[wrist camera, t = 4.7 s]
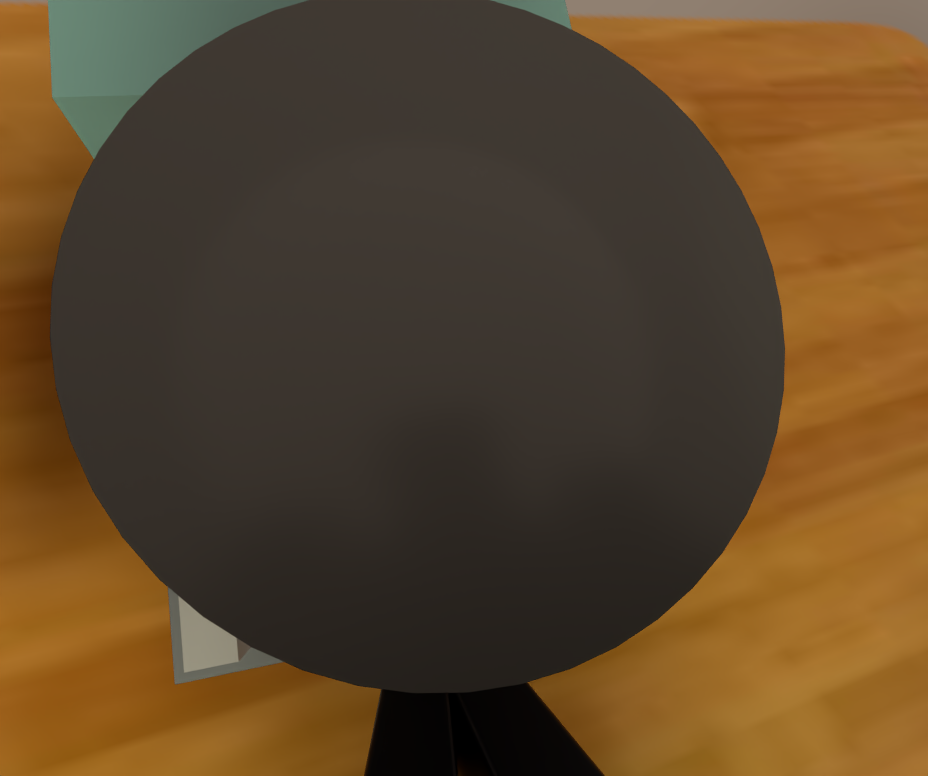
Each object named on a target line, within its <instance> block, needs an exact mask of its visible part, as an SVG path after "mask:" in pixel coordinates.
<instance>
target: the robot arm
mask: <svg viewBox="0 0 928 776" xmlns="http://www.w3.org/2000/svg"><path fill="white" fill-rule="evenodd" d="M364 776H605V775H604V774H603V773H602V772H601V771H600V769H599V768H598V767H597V766H596V765H595V763H594V762H593V761H592V760H591V759H590V757H589V756H588V755H587V754H586V753H585V751H584V750H583V749H582V748H581V747H580V745H579V744H578V743H577V742H576V740H575V739H574V738H573V737H572V736H571V734H570V733H569V732H568V731H567V730H566V728H565V727H564V726H563V725H562V724H561V722H560V721H559V720H558V719H557V718H556V716H555V715H554V714H553V713H552V712H551V710H550V709H549V708H548V707H547V705H546V704H545V703H544V702H543V701H542V699H541V698H540V697H539V696H538V695H537V693H536V692H535V691H534V690H533V689H532V687H531V686H530V685H529V684H528V683H527V682H526V683H523V684H519V685H512V686H506V687H500V688H493V689H487V690H480V691H474V692H463V693H409V692H401V691H394V690H386V689H381V693H380V698H379V703H378V708H377V713H376V718H375V723H374V728H373V733H372V738H371V743H370V748H369V753H368V759H367V764H366V769H365V774H364Z"/></svg>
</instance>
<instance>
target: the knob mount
mask: <svg viewBox="0 0 928 776" xmlns="http://www.w3.org/2000/svg"><path fill="white" fill-rule="evenodd" d="M304 1H308V0H48V10H49V33H50V56H51V79H52V98H53V99H54V101H55V102H56V104H57V105H58V107H59V108H60V109H61V111H62V112H63V114H64V115H65V117H66V118H67V120H68V121H69V123H70V124H71V126H72V127H73V129H74V130H75V132H76V133H77V134H78V136H79V137H80V139H81V140H82V142H83V143H84V145H85V146H86V148H87V149H88V151H89V152H90V154H91V155H92V156H93V158H94V159H95V157H96V155H97V153H98V151H99V149H100V148H101V146H102V145H103V144H104V142H105V141H106V140H107V138H108V137H109V135H110V134H111V133H112V131H113V130H114V129H115V127H116V126H117V124H118V123H119V122H120V120H121V119H122V118H123V116H124V115H125V114H126V112H127V111H128V110H129V109H130V108H131V107H132V106H133V105H134V104H135V103H136V102H137V101H138V100H139V99H140V97H141V96H142V95H143V94H144V93H145V92H146V91H147V90H148V89H149V88H150V87H151V86H152V85H153V84H154V83H155V82H156V81H157V80H158V79H159V78H160V77H161V76H163V75H164V74H165V73H167V72H168V71H169V70H170V69H172V68H173V67H174V66H176V65H177V64H178V63H179V62H181V61H182V60H183V59H184V58H186V57H187V56H188V55H190V54H191V53H192V52H193V51H195V50H196V49H198V48H200V47H201V46H203V45H205V44H207V43H208V42H210V41H212V40H213V39H215V38H217V37H218V36H220V35H222V34H224V33H225V32H227V31H229V30H230V29H232V28H234V27H236V26H239V25H241V24H243V23H246V22H248V21H250V20H253V19H255V18H257V17H260V16H262V15H264V14H267V13H269V12H271V11H274V10H277V9H280V8H284V7H287V6H291V5H294V4H297V3H301V2H304ZM491 1H495V2H498V3H502V4H505V5H509V6H512V7H516V8H519V9H523V10H526V11H529V12H531V13H534V14H536V15H539V16H541V17H544V18H546V19H549V20H551V21H554V22H556V23H558V24H561V25H563V26H565V27H567V28H569V29H571V25H570V20H569V16H568V12H567V7H566V3H565V0H491ZM571 30H572V29H571ZM168 595H169V609H170V623H171V637H172V651H173V665H174V678H175V684H180V683H185V682H189V681H194V680H199V679H204V678H209V677H213V676H218V675H223V674H228V673H233V672H238V671H242V670H247V669H252V668H257V667H262V666H266V665H271V664H276V663H281V662H283V661H281V660H279V659H277V658H274V657H272V656H270V655H268V654H265V653H263V652H261V651H259V650H256V649H254V648H252V647H250V646H249V645H247V644H245V643H244V642H242V641H241V640H239V639H237V638H236V637H234V636H233V635H231V634H229V633H228V632H226V631H225V630H223V629H222V628H220V627H218V626H217V625H215V624H214V623H212V622H210V621H209V620H207V619H206V618H204V617H203V616H201V615H200V614H199V613H198V612H197V611H196V610H194V609H193V608H192V607H191V606H190V605H189V604H187V603H186V602H185V601H184V600H183V599H182V598H180V597H179V596H178V595H177V594H176V593H175V592H173V591H172V590H171V589H170V588H169V587H168Z"/></svg>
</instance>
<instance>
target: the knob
mask: <svg viewBox="0 0 928 776" xmlns="http://www.w3.org/2000/svg"><path fill="white" fill-rule="evenodd" d="M50 341H51V349H52V358H53V367H54V375H55V384H56V390H57V394H58V397H59V401H60V405H61V408H62V412H63V416H64V419H65V423H66V427H67V430H68V434H69V438H70V441H71V443H72V445H73V448H74V450H75V452H76V454H77V457H78V459H79V461H80V463H81V466H82V468H83V470H84V472H85V475H86V477H87V479H88V481H89V483H90V486H91V488H92V490H93V492H94V493H95V495H96V496H97V498H98V500H99V501H100V503H101V504H102V506H103V507H104V509H105V511H106V512H107V514H108V515H109V517H110V518H111V520H112V522H113V523H114V525H115V526H116V528H117V529H118V531H119V532H120V534H121V536H122V537H123V538H124V539H125V541H126V542H127V543H128V544H129V545H130V546H131V547H132V549H133V550H134V551H135V552H136V553H137V554H138V556H139V557H140V558H141V559H142V560H143V561H144V562H145V564H146V565H147V566H148V567H149V568H150V569H151V570H152V572H153V573H154V574H155V575H156V576H157V577H158V578H159V580H160V581H162V582H163V583H164V584H165V585H166V586H168V587H169V588H170V589H171V590H172V591H173V592H175V593H176V594H177V595H178V596H179V597H180V598H182V599H183V600H184V601H185V602H186V603H187V604H189V605H190V606H191V607H192V608H193V609H194V610H196V611H197V612H198V613H199V614H200V615H201V616H203V617H204V618H206V619H207V620H209V621H210V622H212V623H214V624H215V625H217V626H218V627H220V628H222V629H223V630H225V631H226V632H228V633H229V634H231V635H233V636H234V637H236V638H237V639H239V640H241V641H242V642H244V643H245V644H247V645H249V646H250V647H252V648H254V649H256V650H259V651H261V652H263V653H265V654H268V655H270V656H272V657H274V658H277V659H279V660H281V661H283V662H286V663H288V664H290V665H292V666H295V667H297V668H299V669H301V670H304V671H307V672H311V673H314V674H318V675H321V676H325V677H328V678H332V679H336V680H339V681H343V682H346V683H350V684H353V685H357V686H363V687H371V688H378V689H386V690H394V691H401V692H409V693H463V692H474V691H480V690H487V689H493V688H500V687H506V686H512V685H519V684H523V683H526V682H529V681H533V680H536V679H539V678H542V677H546V676H549V675H552V674H555V673H559V672H562V671H565V670H568V669H571V668H573V667H575V666H577V665H580V664H582V663H584V662H586V661H588V660H590V659H592V658H594V657H596V656H599V655H601V654H603V653H605V652H607V651H609V650H611V649H613V648H615V647H617V646H619V645H620V644H622V643H623V642H625V641H626V640H628V639H629V638H631V637H632V636H634V635H635V634H637V633H638V632H640V631H641V630H643V629H644V628H646V627H647V626H649V625H650V624H652V623H653V622H655V621H656V620H658V619H659V618H660V617H661V616H662V615H663V614H664V613H665V612H666V611H668V610H669V609H670V608H671V607H672V606H673V605H674V604H675V603H677V602H678V601H679V600H680V599H681V598H682V597H683V596H684V595H686V594H687V593H688V592H689V591H690V590H691V589H692V588H693V587H694V586H695V585H696V584H697V582H698V581H699V580H700V579H701V578H702V576H703V575H704V574H705V573H706V572H707V570H708V569H709V568H710V567H711V566H712V565H713V563H714V562H715V561H716V560H717V559H718V557H719V556H720V555H721V554H722V553H723V551H724V549H725V548H726V546H727V545H728V543H729V541H730V540H731V538H732V537H733V535H734V533H735V532H736V530H737V529H738V527H739V525H740V524H741V522H742V521H743V519H744V518H745V516H746V514H747V512H748V510H749V508H750V505H751V503H752V501H753V499H754V496H755V494H756V492H757V490H758V488H759V485H760V483H761V481H762V479H763V477H764V474H765V471H766V468H767V464H768V461H769V458H770V454H771V451H772V447H773V444H774V441H775V437H776V434H777V429H778V423H779V416H780V410H781V404H782V397H783V391H784V361H785V344H784V334H783V323H782V312H781V305H780V300H779V295H778V291H777V286H776V282H775V277H774V272H773V268H772V264H771V261H770V259H769V256H768V253H767V250H766V247H765V244H764V241H763V238H762V235H761V232H760V229H759V227H758V225H757V223H756V220H755V218H754V216H753V214H752V212H751V210H750V208H749V206H748V204H747V202H746V199H745V197H744V195H743V193H742V191H741V189H740V188H739V186H738V184H737V183H736V181H735V180H734V178H733V176H732V175H731V173H730V172H729V170H728V168H727V167H726V165H725V164H724V162H723V160H722V159H721V157H720V156H719V154H718V153H717V152H716V150H715V149H714V148H713V147H712V145H711V144H710V143H709V141H708V140H707V139H706V138H705V136H704V135H703V134H702V132H701V131H700V130H699V129H698V127H697V126H696V125H695V124H694V123H693V121H692V120H691V119H690V118H689V117H688V116H687V115H686V114H685V113H684V112H683V111H682V110H681V109H680V108H679V107H678V106H677V105H676V104H675V103H674V102H673V101H672V100H671V99H670V98H669V97H668V96H667V95H666V94H665V93H664V92H663V91H662V90H660V89H659V88H658V87H657V86H656V85H654V84H653V83H652V82H651V81H650V80H648V79H647V78H646V77H645V76H644V75H642V74H641V73H640V72H639V71H638V70H636V69H635V68H634V67H632V66H631V65H629V64H628V63H626V62H625V61H623V60H622V59H620V58H619V57H618V56H616V55H615V54H613V53H612V52H610V51H609V50H607V49H606V48H604V47H603V46H601V45H599V44H598V43H596V42H594V41H592V40H590V39H588V38H586V37H584V36H582V35H581V34H579V33H577V32H575V31H573V30H571V29H569V28H567V27H565V26H563V25H561V24H558V23H556V22H554V21H551V20H549V19H546V18H544V17H541V16H539V15H536V14H534V13H531V12H529V11H526V10H523V9H519V8H516V7H512V6H509V5H505V4H502V3H498V2H495V1H491V0H308V1H304V2H301V3H297V4H294V5H291V6H287V7H284V8H280V9H277V10H274V11H271V12H269V13H267V14H264V15H262V16H260V17H257V18H255V19H253V20H250V21H248V22H246V23H243V24H241V25H239V26H236V27H234V28H232V29H230V30H229V31H227V32H225V33H224V34H222V35H220V36H218V37H217V38H215V39H213V40H212V41H210V42H208V43H207V44H205V45H203V46H201V47H200V48H198V49H196V50H195V51H193V52H192V53H191V54H190V55H188V56H187V57H186V58H184V59H183V60H182V61H181V62H179V63H178V64H177V65H176V66H174V67H173V68H172V69H170V70H169V71H168V72H167V73H165V74H164V75H163V76H161V77H160V78H159V79H158V80H157V81H156V82H155V83H154V84H153V85H152V86H151V87H150V88H149V89H148V90H147V91H146V92H145V93H144V94H143V95H142V96H141V97H140V99H139V100H138V101H137V102H136V103H135V104H134V105H133V106H132V107H131V108H130V109H129V110H128V111H127V112H126V114H125V115H124V116H123V118H122V119H121V120H120V122H119V123H118V124H117V126H116V127H115V129H114V130H113V131H112V133H111V134H110V135H109V137H108V138H107V140H106V141H105V142H104V144H103V145H102V146H101V148H100V149H99V151H98V153H97V155H96V157H95V159H94V161H93V162H92V164H91V166H90V168H89V170H88V172H87V174H86V176H85V178H84V179H83V181H82V183H81V185H80V187H79V189H78V191H77V194H76V196H75V199H74V202H73V205H72V208H71V211H70V213H69V216H68V219H67V222H66V225H65V228H64V230H63V233H62V236H61V241H60V246H59V251H58V256H57V262H56V267H55V272H54V277H53V283H52V297H51V324H50Z"/></svg>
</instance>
